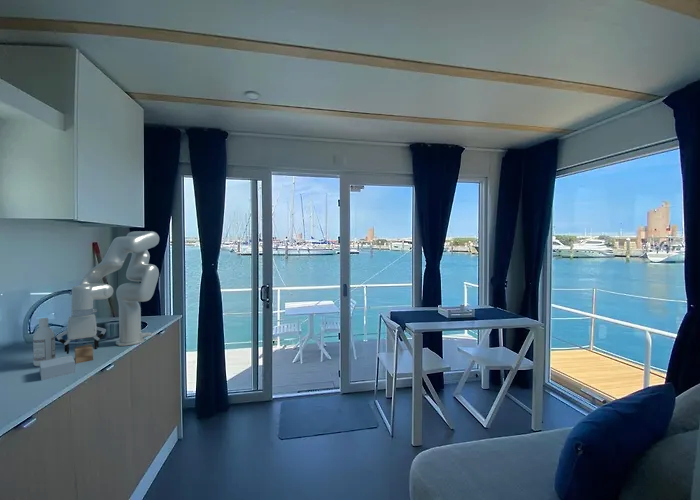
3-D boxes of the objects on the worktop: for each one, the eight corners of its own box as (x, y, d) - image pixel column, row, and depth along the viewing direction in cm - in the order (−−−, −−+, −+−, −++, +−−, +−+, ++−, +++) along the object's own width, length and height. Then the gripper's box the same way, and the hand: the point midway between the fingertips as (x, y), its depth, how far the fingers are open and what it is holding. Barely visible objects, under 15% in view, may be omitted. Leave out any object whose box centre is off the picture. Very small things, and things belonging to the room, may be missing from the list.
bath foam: (50, 359, 145) (49, 316, 145) (58, 362, 143) (57, 317, 142) (30, 365, 139) (29, 319, 139) (38, 367, 136) (37, 321, 136)
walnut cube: (91, 356, 150) (91, 344, 149) (93, 360, 145) (92, 347, 145) (75, 360, 145) (74, 346, 145) (75, 363, 141) (75, 350, 141)
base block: (71, 366, 138) (71, 355, 138) (75, 373, 131) (75, 361, 131) (39, 373, 131) (39, 361, 131) (41, 381, 124) (41, 368, 124)
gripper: (105, 309, 153) (104, 345, 153) (56, 314, 141) (55, 353, 141) (107, 311, 148) (106, 349, 147) (56, 316, 136) (55, 357, 136)
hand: (81, 350), depth 144 cm, fingers open, 9 cm apart
